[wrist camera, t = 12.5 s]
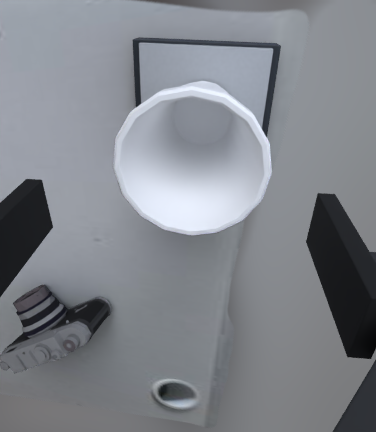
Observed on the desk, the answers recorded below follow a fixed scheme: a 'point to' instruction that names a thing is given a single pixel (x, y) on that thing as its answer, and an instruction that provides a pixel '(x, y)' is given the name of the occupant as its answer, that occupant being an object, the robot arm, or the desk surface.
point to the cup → (192, 159)
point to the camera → (51, 329)
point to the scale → (209, 69)
